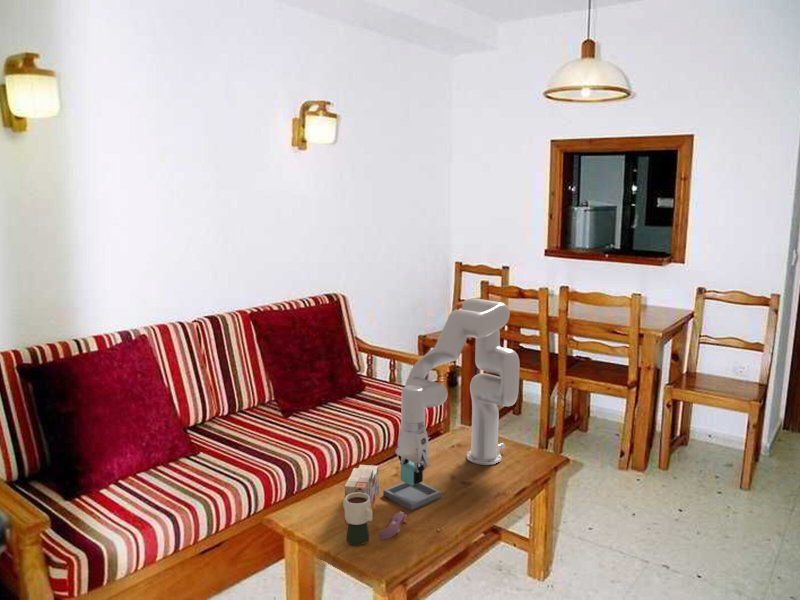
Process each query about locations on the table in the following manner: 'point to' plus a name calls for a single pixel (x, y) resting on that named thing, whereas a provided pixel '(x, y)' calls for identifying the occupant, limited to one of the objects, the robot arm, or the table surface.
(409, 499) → the tray
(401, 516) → the purple elongated lump
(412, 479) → the cube
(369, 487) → the stack of blocks
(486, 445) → the robot arm
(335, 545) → the table surface
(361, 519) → the character mug
